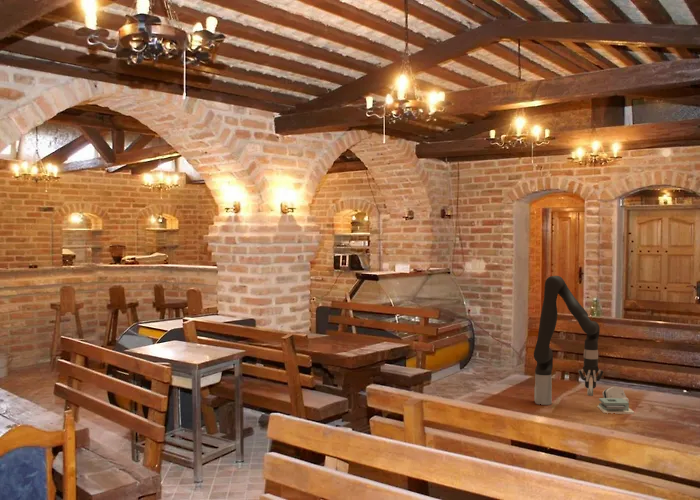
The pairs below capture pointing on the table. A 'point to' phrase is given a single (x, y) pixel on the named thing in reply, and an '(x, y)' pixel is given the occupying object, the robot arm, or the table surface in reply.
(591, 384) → the pin
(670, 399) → the table surface
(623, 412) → the square frame block
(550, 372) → the robot arm
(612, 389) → the white black beveled block
